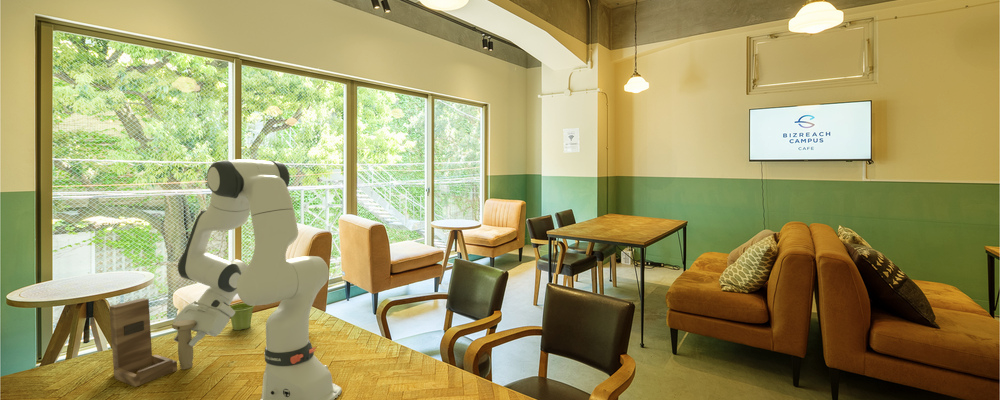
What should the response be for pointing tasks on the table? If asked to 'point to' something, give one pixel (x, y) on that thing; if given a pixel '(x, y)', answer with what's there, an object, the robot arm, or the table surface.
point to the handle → (184, 342)
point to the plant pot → (241, 316)
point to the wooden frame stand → (135, 344)
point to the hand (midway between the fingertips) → (183, 343)
